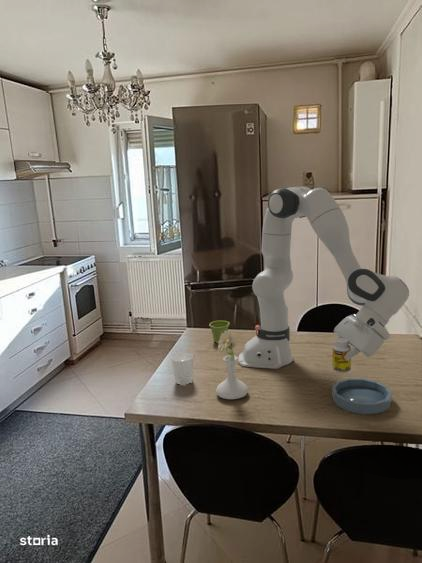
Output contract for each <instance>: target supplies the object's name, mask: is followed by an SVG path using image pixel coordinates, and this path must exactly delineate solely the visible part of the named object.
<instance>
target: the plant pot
mask: <svg viewBox="0 0 422 563" xmlns="http://www.w3.org/2000/svg"><path fill="white" fill-rule="evenodd" d="M229 326H230V322H229V321H226V320H214V321H211V322H210V323H209V327H210V329H211V334H212V339H213V342H214V343H215V342H216V344H219V343H218V341H219V340H220V336H221V334H222V333H223V334H224V331H226V330H227V332H228V331H229Z"/></svg>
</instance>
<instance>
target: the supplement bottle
mask: <svg viewBox="0 0 422 563" xmlns="http://www.w3.org/2000/svg"><path fill="white" fill-rule="evenodd" d="M334 341H335V342H334V344H333V345H332V369H333V371H334V372H336V373H338V374H339V373H340V374H347V373H349V372H350V371H351V369H352V368H351V365H352V364H351V363H352V357H351V358H350V360H348V361H347V360H346V359H345V358H344V357H343V355H344V354H345V353H346V352H347V353H348V352H349V351H351V350H352V349H351V348H352V347H351V345H350V344H349V343H348V340H347V339H345V338H339V337H337V338H335V340H334Z"/></svg>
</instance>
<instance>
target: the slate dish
mask: <svg viewBox="0 0 422 563" xmlns="http://www.w3.org/2000/svg"><path fill="white" fill-rule="evenodd" d="M331 395H332V400H333V403H334V404H335V405H336V406H337V407H338V408H340V409H341V410H344V411H346V412H350V413H354V414H357V415H378V414H382V413H384V412H385V411H386V412H387V411H388V410H389V409H390V408H391V402H392V400H393V399H392V396H393V395H392V392H391V390H390V388H389V387H388V386H387V385H385V384H382V383H381V382H379V381H376V380H371V379H366V378H363V377H362V378H357V377H356V378H354V377H353V378H344V379H341V380H337V381H336V383H335V384H334V385H333V386H331Z"/></svg>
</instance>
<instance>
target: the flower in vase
mask: <svg viewBox="0 0 422 563" xmlns="http://www.w3.org/2000/svg"><path fill="white" fill-rule="evenodd" d="M232 339H233V335H232V332H231V331H230V330H229V329H228V332H227V330H226V331H224V334H223V333H222V334H221V336H220V340H219V341H218V343H217V344H218V346H217V350H219V353H225V352H226V353H227V354H228V355H225V356H223V358H222V359H223V361H224V362H225V364H226V368H227V377H226V379H225V380H223V381H221V383H219V384H218V385H217V387H216V389H215V393H216V394H217V395H218V397H220V398H222V399H225V400H236V399H237V400H238V399H241V398H244V397H245V396H246V395H247V394H248V393H249V388H248V385H246V384H245V383H244V382H243V381H241V380H240V379H238V378H236V375H235V365H236V363H237V360H238V358H239V356H236V355H235V352H233V351H234V350H233V348H232V345H231V343H232V341H233V340H232Z"/></svg>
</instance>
